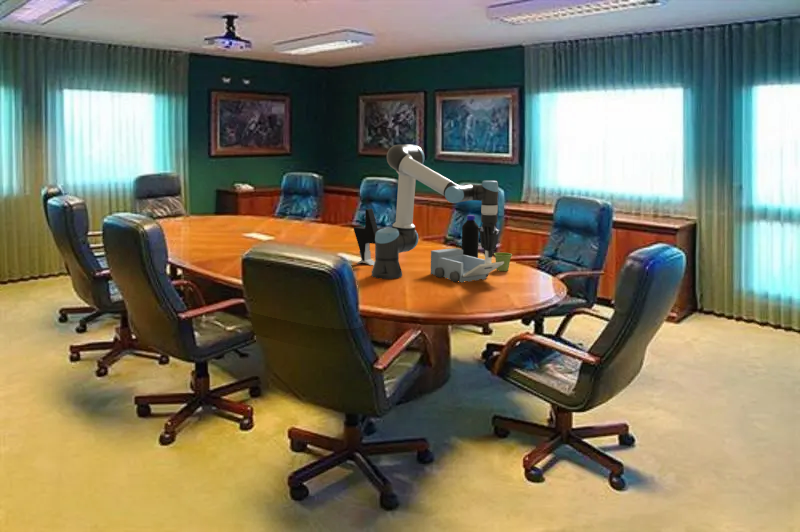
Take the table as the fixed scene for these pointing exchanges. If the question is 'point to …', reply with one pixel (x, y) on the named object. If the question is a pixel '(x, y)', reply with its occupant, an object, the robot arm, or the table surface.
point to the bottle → (470, 237)
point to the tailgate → (483, 269)
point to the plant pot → (503, 257)
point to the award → (366, 237)
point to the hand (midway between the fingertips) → (488, 263)
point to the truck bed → (454, 264)
